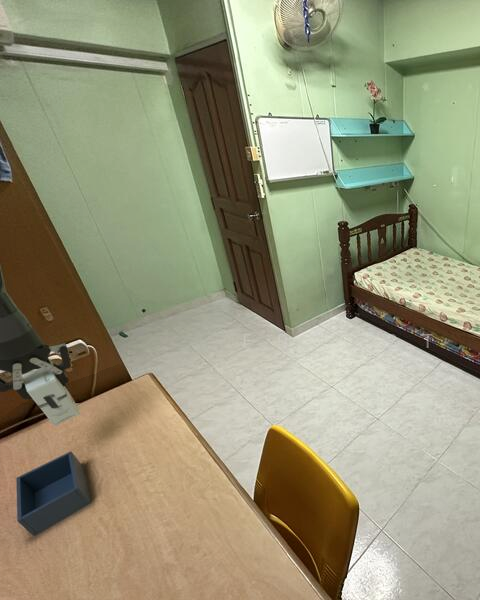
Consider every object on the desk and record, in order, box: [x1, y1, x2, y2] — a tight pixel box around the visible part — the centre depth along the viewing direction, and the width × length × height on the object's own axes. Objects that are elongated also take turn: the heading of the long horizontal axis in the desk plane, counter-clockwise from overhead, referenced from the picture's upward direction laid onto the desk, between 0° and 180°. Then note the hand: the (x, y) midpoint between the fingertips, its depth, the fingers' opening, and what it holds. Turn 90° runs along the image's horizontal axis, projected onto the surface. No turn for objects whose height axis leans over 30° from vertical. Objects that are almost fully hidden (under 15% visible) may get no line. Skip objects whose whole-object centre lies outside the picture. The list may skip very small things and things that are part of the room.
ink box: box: [22, 368, 81, 427], centre depth 75 cm, size 8×5×12 cm, turn 52°
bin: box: [16, 451, 92, 537], centre depth 72 cm, size 9×13×6 cm
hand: (48, 390), depth 74 cm, fingers closed on ink box, 5 cm apart
